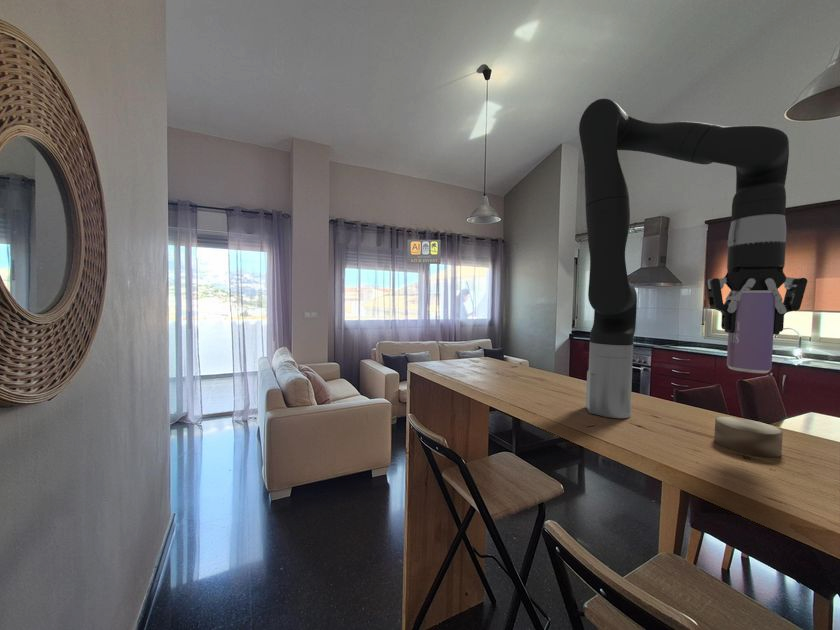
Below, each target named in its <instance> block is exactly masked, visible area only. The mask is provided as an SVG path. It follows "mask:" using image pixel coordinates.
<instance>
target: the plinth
mask: <svg viewBox="0 0 840 630" xmlns="http://www.w3.org/2000/svg"><path fill="white" fill-rule="evenodd" d="M714 421H715V422H714V437H713V439H714V442H715V443H717V444H718V445H720V446H722V447H724V448H727V449H729V450H732V451H735V452H739V453H742V454H747V455H750V456H755V455H757V456H756V457H761V456H762V457H761V458H772V457H773V458H781V457H782V453H783V452H782V451H783V437H784V436H783V434H784V433H783V431H782V430H781V429H780V428H779V427H776V426H774V425H771V424H767V423H764V422H761V421H756V420H752V419H748V418H742V417H735V416H719V417H717V418H715V420H714Z"/></svg>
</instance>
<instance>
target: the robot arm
mask: <svg viewBox="0 0 840 630" xmlns="http://www.w3.org/2000/svg"><path fill="white" fill-rule="evenodd" d="M578 132H579V133H578V134H579V141H580V144H581V145H580V147H581V150H582V151H581V152H582V157H583V166H584V195H585V196H584V197H585V222H586V232H587V233H586V234H587V242H588V243H587V244H588V249H589V250H588V251H589V276H588V277H589V280H588V291H587V294H588V295H587V296H588V303H589V304H590V306H591V308H592V309H593V310H594V311H593V312H594V313H593V324H592V327H591V330H590V332H589V350H588V351H589V352H588V353H589V355H588V356H589V357H588V370H587V371H586V393H585V395H586V397H585V398H586V400H585V402H586V403H585V407H586V410H587V412H588V414H593V415H597V416H600V417H605V418H610V419H611V418H612V419H627V418H630V417H631V413H632V412H631V411H632V410H631V409H632V386H633V385H632V383H633V382H632V381H633V359H634V358H633V356H634V355H633V353H634V339H635V332H636V326H637V309H638V308H637V307H638V306H637V305H638V293H637V290H636V288H635V286H634V285H633V284H632V283H631V282H630V281H629V277H628V270H627V264H626V262H627V261H626V249H627V248H626V247H627V242H628V236H629V232H630V231H629V230H630V224H631V223H630V222H631V210H630V209H631V207H630V206H631V205H630V193H629V188H628V184H627V181H626V177H625V174H624V172H623V169H622V165H621V162H620V159H619V155H618V151H631V152H639V153H640V152H641V153H645V154H650V155H651V154H652V155H657V156H661V157H664V158H665V157H666V158H670V159H675V160H678V161H683V162H688V163H692V164H698V165H710V164H711V165H712V164H713V163H714V164H715V163H716V164H721V165H728V166H731V167H735V171H736V173H735V174H736V176H735V177H736V179H735V180H736V181H735V183H736V184H735V194H734V195H733V198H732V203H731V220H730V227H729V232H728V239H727V261H726V270H727V272H726V274H725V276H724V277H720V278H717V277H715V278H710V279H709V278H708V279H706V281H705V286H706V293H707V299H708V300H707V301H708V305H709V308H710V309H711V310H715V311H718V312H720V313H721V322H720V327H721V329H722V330H724V332H725V333H727V334H728V333H734V331H735V317H736V313H734V312H735V310H736V309H737V302H738V301H740V298H741V295H742V294H743V292H742V291H751V290H766V291H774V292H773V293H774V295H775V317H774V334H773V336H775V335H776V336H777V335H780V332H781V333H782V332H783V330H784V325H785V322H784V321H785V315H786V314H787V313H790V312H794V311H795V312H796V311H799V310H800V309H801V306H802V302H803V300H804V294H805V291H806V288H807V285H808V279H807V278H805V277H787V276H786V274H785V273H784V268H785V264H786V263H785V262H786V245H787V243H786V242H787V222H786V208H787V205H786V204H787V194H786V193H787V192H786V187H785V186H786V181H787V173H788V167H789V166H788V165H789V157H790V145H789V144H790V142H789V138H788V135H787V133H785V132H784V131H783V130H781V129H778V128H776V127H771V126H766V125H732V126H731V125H730V126H729V125H728V126H722V125H719V124H713V123H705V122H699V121H698V122H697V121H685V120H682V121H680V120H679V121H669V122H668V121H667V122H649V121H644V120H641V119H638V118H635V117H633V116H630V115H628V114H627V112H625V110H623V108H622V107H621V106H620V105H619V104H618V103H617V102H615V101H614V100H611V99H610V98H599V99H596V100H594V101H593V102H591V103H590V104H589V105H588V106H587V107H586V108H585V109H584V112H583V113H582V115H581V117H580V120H579V124H578ZM724 285H726V286H727V288H729V290H730V291H729V293H728V294H727V296H726V298H725V301H724V300H723V299H724V298H723V294H722V289H724V287H725V286H724ZM782 285H784V289H786V290H785V295H784V299H783V297H782V295H781V294H780V292H779V288H780V287H781V286H782ZM732 291H738V293H737V294H736V295H735V296H731V295H732ZM730 301H731V302H730Z"/></svg>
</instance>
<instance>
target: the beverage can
mask: <svg viewBox="0 0 840 630" xmlns="http://www.w3.org/2000/svg"><path fill="white" fill-rule="evenodd" d="M742 292H743V294H742V295H741V298H740V301H738V302H737V309H736V310H735V312H734V313H736V317H735V331H734V333H727V334H728V335H727V349H726V350H727V353H726V366H727V368H728V369H730V370H732V371H737V372H738V371H739V372H745V373H753V374H768V373H769V372H771V370H772V369H773V368H772V366H773V365H772V364H773V352H774V349H773V348H774V335H773V334H774V317H775V295H774V293H773V292H774V291H766V290H751V291H742ZM737 293H738V291H732V295H731V296H735V295H736V294H737ZM730 302H731V301H730Z"/></svg>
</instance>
